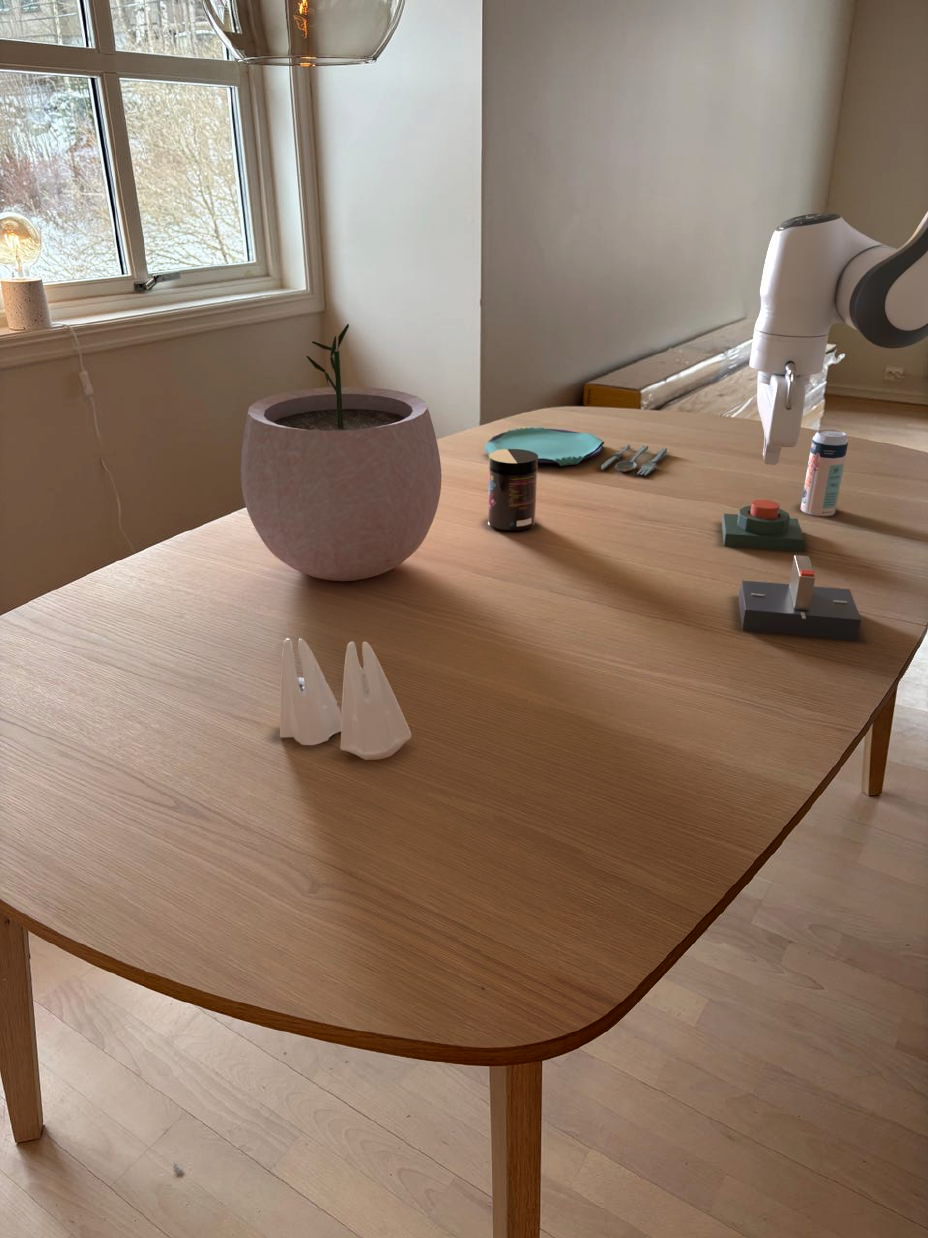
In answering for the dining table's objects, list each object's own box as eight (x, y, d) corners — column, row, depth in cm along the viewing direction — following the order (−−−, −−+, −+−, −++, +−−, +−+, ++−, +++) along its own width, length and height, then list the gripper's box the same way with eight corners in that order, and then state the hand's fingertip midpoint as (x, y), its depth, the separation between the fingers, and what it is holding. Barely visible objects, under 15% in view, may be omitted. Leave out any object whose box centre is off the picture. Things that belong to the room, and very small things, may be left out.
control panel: (843, 608, 111) (848, 583, 109) (857, 649, 102) (863, 622, 100) (737, 599, 113) (740, 575, 111) (742, 638, 104) (746, 612, 103)
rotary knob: (788, 587, 109) (794, 552, 107) (803, 588, 108) (809, 553, 107) (794, 609, 103) (800, 573, 102) (809, 610, 103) (815, 575, 101)
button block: (795, 533, 132) (799, 506, 130) (801, 555, 125) (806, 526, 123) (721, 527, 134) (724, 501, 132) (723, 549, 127) (727, 520, 125)
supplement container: (514, 515, 138) (516, 445, 134) (545, 529, 133) (548, 457, 129) (477, 525, 134) (478, 454, 130) (508, 540, 130) (510, 466, 125)
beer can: (806, 505, 142) (819, 426, 137) (838, 512, 140) (853, 432, 135) (795, 514, 139) (809, 434, 134) (828, 521, 136) (844, 439, 131)
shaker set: (415, 752, 84) (412, 641, 79) (391, 777, 81) (387, 663, 76) (303, 719, 89) (294, 613, 84) (276, 741, 86) (265, 632, 81)
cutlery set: (514, 433, 178) (515, 421, 177) (672, 454, 166) (674, 441, 165) (468, 461, 162) (468, 448, 161) (639, 487, 150) (641, 473, 149)
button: (776, 512, 129) (778, 500, 128) (778, 521, 126) (780, 509, 125) (749, 510, 130) (750, 498, 129) (750, 519, 127) (752, 507, 126)
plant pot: (329, 523, 135) (315, 303, 122) (476, 556, 124) (478, 319, 111) (210, 583, 116) (178, 331, 103) (370, 628, 106) (358, 353, 92)
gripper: (823, 373, 109) (802, 488, 115) (805, 340, 127) (787, 441, 133) (767, 370, 110) (749, 484, 117) (756, 338, 128) (741, 438, 134)
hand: (769, 461), depth 125 cm, fingers closed
